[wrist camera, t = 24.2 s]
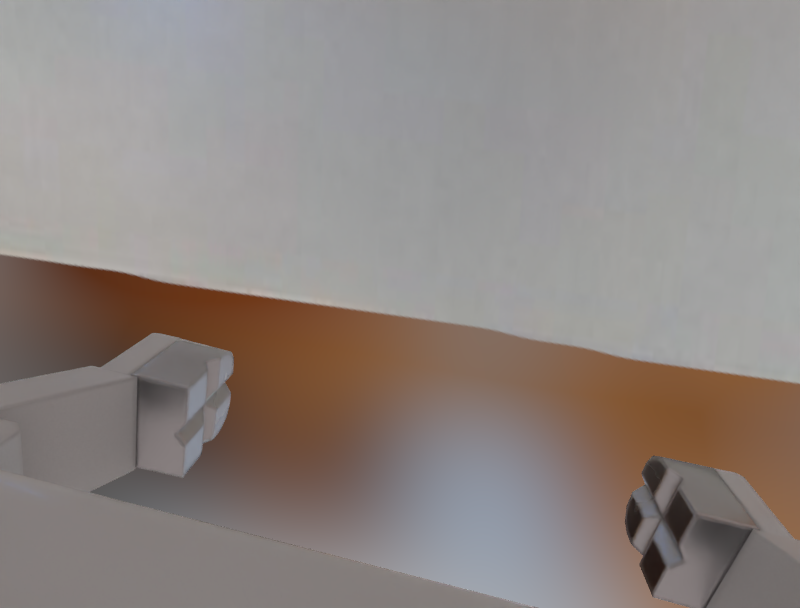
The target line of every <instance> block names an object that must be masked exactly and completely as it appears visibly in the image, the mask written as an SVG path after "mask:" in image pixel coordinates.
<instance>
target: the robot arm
mask: <svg viewBox="0 0 800 608" xmlns="http://www.w3.org/2000/svg"><path fill="white" fill-rule="evenodd" d="M233 363H234V357H233V355H232V353H231V352H230V351H226V350H222V349H218V348H214V347H211V346H207V345H203V344H199V343H195V342H191V341H188V340H184V339H181V338H178V337H173V336H168V335H164V334H159V333H152V334H151V335H149V336H148V337H146V338H145V339H143V340H142V341H140V342H139V343H137V344H136V345H134V346H132V347H131V348H130V349H128V350H127V351H125V352H124V353H122V354H120V355H119V356H117V357H116V358H115V359H113V360H111V361H110V362H108V363H107V364H105V365H104V366H102V367H101V368H99V367H95V366H89V367H83V368H78V369H73V370H68V371H62V372H57V373H52V374H47V375H42V376H36V377H31V378H26V379H21V380H16V381H10V382H6V383H0V608H537V607H533V606H529V605H525V604H521V603H517V602H513V601H509V600H506V599H502V598H498V597H494V596H490V595H486V594H482V593H478V592H474V591H471V590H467V589H462V588H459V587H455V586H451V585H447V584H443V583H439V582H435V581H431V580H428V579H424V578H420V577H416V576H412V575H408V574H404V573H401V572H396V571H393V570H389V569H385V568H381V567H377V566H373V565H369V564H366V563H362V562H358V561H354V560H350V559H346V558H342V557H338V556H334V555H330V554H326V553H323V552H319V551H315V550H311V549H307V548H303V547H299V546H296V545H292V544H288V543H284V542H280V541H276V540H272V539H268V538H264V537H261V536H257V535H253V534H249V533H245V532H241V531H237V530H233V529H229V528H225V527H222V526H218V525H214V524H209V523H206V522H202V521H198V520H194V519H191V518H186V517H182V516H179V515H175V514H171V513H167V512H163V511H159V510H156V509H151V508H148V507H144V506H140V505H136V504H132V503H128V502H125V501H120V500H116V499H113V498H109V497H105V496H101V495H97V494H93V493H90V491H92V490H94V489H96V488H98V487H101V486H102V485H104V484H107V483H109V482H111V481H113V480H115V479H117V478H119V477H121V476H123V475H125V474H127V473H129V472H131V471H133V470H135V467H137V468H142V469H146V470H151V471H156V472H160V473H164V474H169V475H173V476H178V477H182V478H183V477H184V475H185V474H186V473H187V472H188V470H189V469H190V468H191V467H192V465H193V464H194V463H195V462H196V460H197V459H198V458H199V457H200V455H201V454H202V444H203V443H205V442H207V441H210V440H213V439H214V438H215V436H216V435H217V434H218V432H219V431H220V430H221V428H222V425H223V423H224V421H225V419H226V417H227V413H228V409H229V405H230V397H231V392H230V391H229V389H228V387H227V385H226V383H225V381H226V380H227V379H228V378H229V377H230V376H231V375H232V374H233ZM642 476H643V479H644V482H645V485H644V486H642V487H640V488H639V489H637V490H635V491H634V492H632V495H631V498H630V500H629V502H628V504H627V508H626V519H625V524H626V531H627V535H628V537H629V540H630V542H631V544H632V545H633V546H634V547H635V548H636V549H637V550H638V551H639V552H640V553H641V554H642V555H643V558H642V560H641V562H640V567H641V570H642V572H643V574H644V577H645V579H646V582H647V584H648V586H649V589H650V591H651V594H652V596H653V597H654V598H658V599H661V600H665V601H669V602H672V603H676V604H680V605H683V606H686V607H690V608H800V541H799V540H796V539H794V538H793V537H792V536H791V535H790V533H789V532H788V531H787V530H786V529H785V527H784V526H783V525H782V524H781V522H780V521H779V520H778V519H777V517H776V516H775V515H774V514H773V512H772V511H771V510H770V509H769V508H768V507H767V505H766V504H765V503H764V501H763V500H762V499H761V498H760V496H759V495H758V494H757V493H756V492H755V491H754V489H753V488H752V487H751V485H750V484H749V483H748V482H747V481H746V479H745V478H744V477H742V476H741V475H739V474H737V473H734V472H729V471H724V470H719V469H714V468H710V467H705V466H700V465H696V464H692V463H687V462H682V461H678V460H672V459H669V458H663V457H658V456H652V457H651V459H649V461H648V462H647V463H646V465H645V467H644V469H643V471H642Z"/></svg>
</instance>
